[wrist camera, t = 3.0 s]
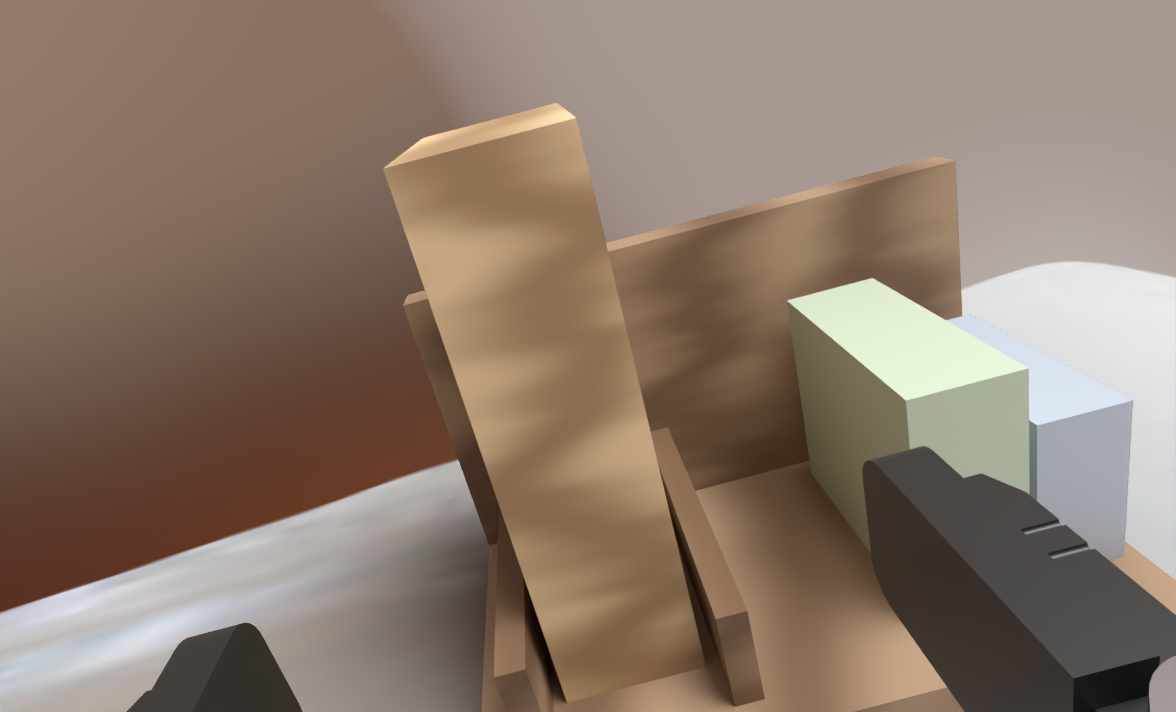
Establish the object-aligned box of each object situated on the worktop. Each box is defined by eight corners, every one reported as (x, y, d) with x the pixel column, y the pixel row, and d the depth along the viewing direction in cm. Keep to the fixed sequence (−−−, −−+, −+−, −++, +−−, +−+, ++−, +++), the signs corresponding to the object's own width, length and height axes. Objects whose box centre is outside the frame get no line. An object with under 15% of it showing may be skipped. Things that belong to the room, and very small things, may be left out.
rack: (490, 841, 18) (325, 472, 14) (498, 550, 29) (408, 295, 25) (1215, 650, 18) (1270, 225, 14) (950, 431, 29) (936, 156, 25)
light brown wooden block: (567, 703, 20) (383, 168, 14) (554, 549, 27) (423, 138, 21) (706, 666, 20) (576, 117, 14) (658, 521, 27) (556, 103, 21)
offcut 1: (923, 624, 20) (905, 400, 17) (811, 473, 27) (786, 300, 24) (1030, 596, 20) (1028, 368, 17) (888, 453, 27) (872, 277, 24)
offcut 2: (1037, 579, 20) (1037, 425, 18) (909, 455, 27) (900, 332, 25) (1123, 556, 20) (1132, 400, 18) (975, 438, 27) (970, 313, 25)
